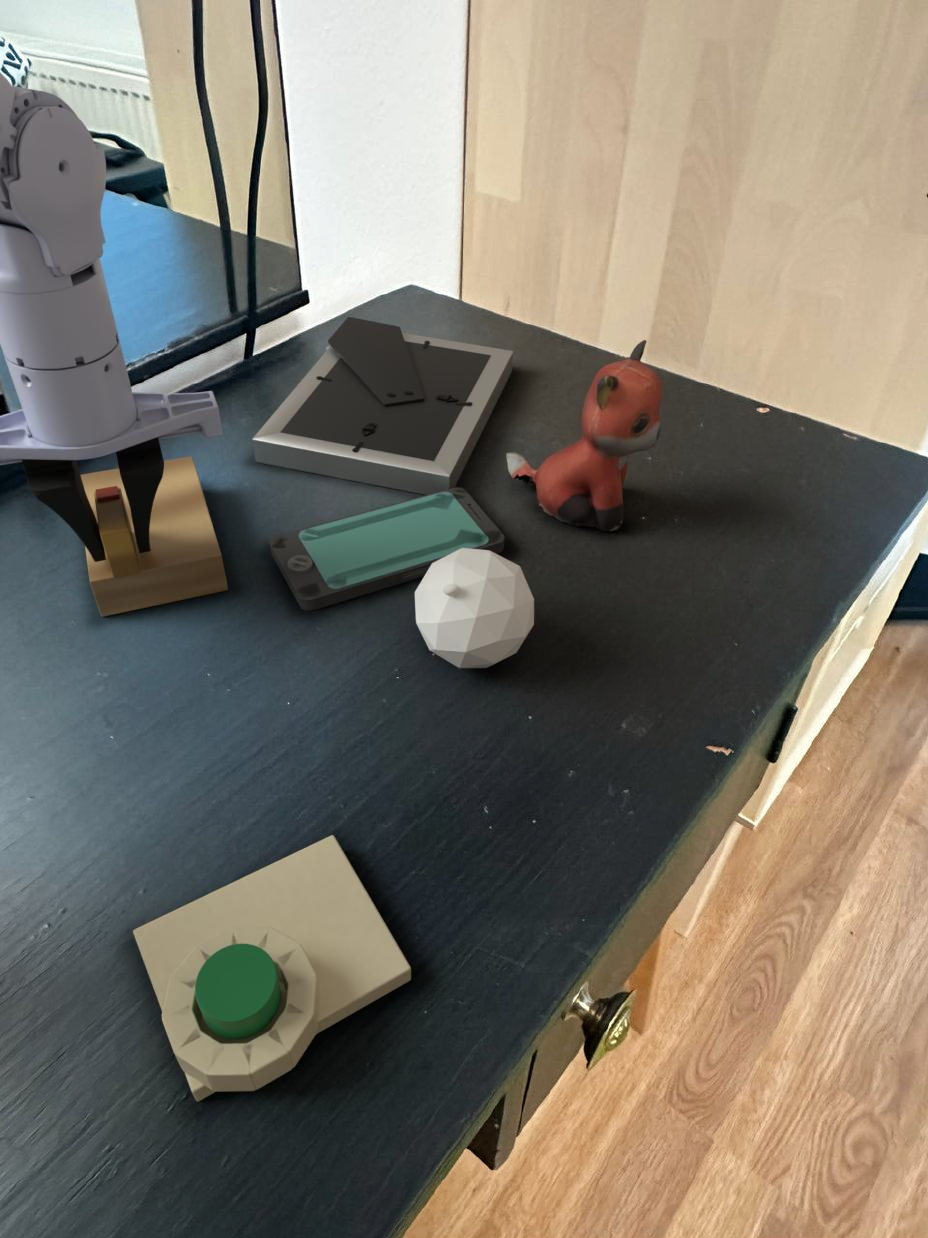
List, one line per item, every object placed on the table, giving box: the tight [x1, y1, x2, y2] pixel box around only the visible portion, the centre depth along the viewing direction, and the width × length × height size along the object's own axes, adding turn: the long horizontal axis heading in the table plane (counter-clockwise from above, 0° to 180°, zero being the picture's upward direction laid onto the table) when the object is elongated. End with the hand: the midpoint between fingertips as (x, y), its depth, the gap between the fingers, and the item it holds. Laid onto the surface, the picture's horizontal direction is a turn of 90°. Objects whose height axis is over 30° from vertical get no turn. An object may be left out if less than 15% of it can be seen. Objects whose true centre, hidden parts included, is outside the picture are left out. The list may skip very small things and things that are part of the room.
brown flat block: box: [80, 455, 229, 618], centre depth 61 cm, size 12×8×3 cm, turn 21°
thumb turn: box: [94, 486, 140, 578], centre depth 55 cm, size 4×2×4 cm, turn 21°
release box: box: [132, 834, 412, 1102], centre depth 39 cm, size 10×9×3 cm
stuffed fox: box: [506, 339, 663, 532], centre depth 64 cm, size 8×11×12 cm
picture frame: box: [251, 316, 514, 496], centre depth 75 cm, size 16×3×21 cm
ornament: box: [414, 548, 535, 669], centre depth 53 cm, size 7×7×8 cm
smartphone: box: [269, 486, 505, 612], centre depth 62 cm, size 7×1×15 cm
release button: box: [195, 944, 281, 1040], centre depth 36 cm, size 3×3×2 cm
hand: (121, 547), depth 56 cm, fingers closed
